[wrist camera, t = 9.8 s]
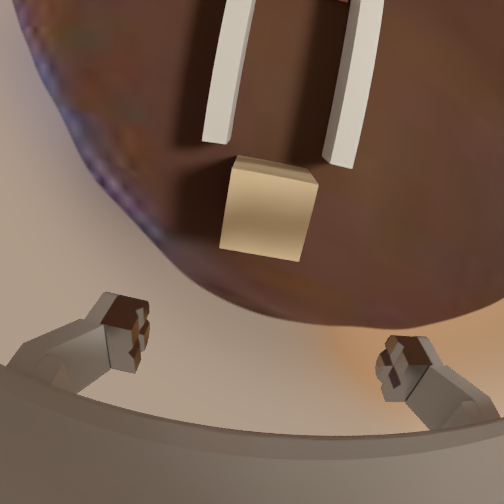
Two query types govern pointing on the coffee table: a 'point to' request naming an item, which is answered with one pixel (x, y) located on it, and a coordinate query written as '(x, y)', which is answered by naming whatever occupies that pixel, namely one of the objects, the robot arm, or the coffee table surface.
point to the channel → (347, 87)
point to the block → (268, 208)
